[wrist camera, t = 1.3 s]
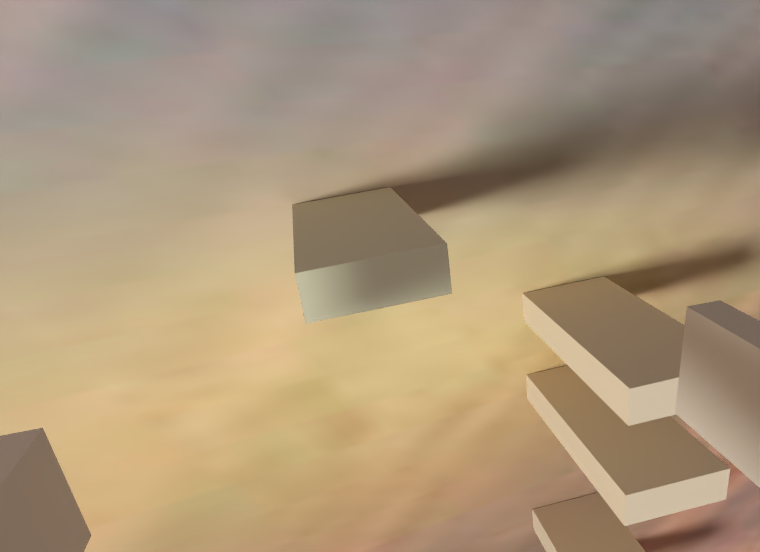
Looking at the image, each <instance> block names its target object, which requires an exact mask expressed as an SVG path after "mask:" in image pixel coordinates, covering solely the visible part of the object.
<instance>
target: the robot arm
mask: <svg viewBox="0 0 760 552" xmlns="http://www.w3.org/2000/svg"><path fill="white" fill-rule="evenodd" d="M675 413H676V414H677V415H678V416H679V417H680V418H681V419H682V420H683V421H685V422H686V423H687V424H688V425H689V426H690V427H691V428H693V429H694V430H695V431H696V432H697V433H698V434H699V435H701V436H702V437H703V438H704V439H705V440H706V441H707V442H708V443H710V444H711V445H712V446H713V447H714V448H715V449H716V450H718V451H719V452H720V453H721V454H722V455H723V456H724V457H726V458H727V459H728V460H729V461H730V462H731V463H732V464H734V465H735V466H736V467H737V468H738V469H739V470H740V471H741V472H743V473H744V474H745V475H746V476H747V477H748V478H749V479H751V480H752V481H753V482H754V483H755V484H756V485H757V486H759V487H760V321H759V320H757V319H755V318H753V317H751V316H749V315H747V314H745V313H743V312H741V311H739V310H737V309H736V308H734V307H732V306H730V305H728V304H726V303H724V302H722V301H720V300H719V301H714V302H709V303H704V304H698V305H693V306H688V307H687V311H686V320H685V329H684V337H683V346H682V355H681V364H680V373H679V381H678V390H677V399H676V408H675ZM90 537H91V534H90V531H89V529H88V527H87V525H86V523H85V520H84V518H83V516H82V514H81V512H80V509H79V507H78V505H77V503H76V500H75V498H74V496H73V494H72V492H71V489H70V487H69V485H68V483H67V481H66V478H65V476H64V474H63V472H62V470H61V467H60V465H59V463H58V461H57V458H56V456H55V454H54V452H53V450H52V447H51V445H50V443H49V441H48V439H47V436H46V434H45V432H44V430H43V428H40V429H34V430H29V431H24V432H19V433H13V434H8V435H3V436H0V552H84V550H85V548H86V546H87V543H88V541H89V539H90Z"/></svg>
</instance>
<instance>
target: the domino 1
mask: <svg viewBox="0 0 760 552" xmlns="http://www.w3.org/2000/svg"><path fill="white" fill-rule="evenodd" d="M292 211H293V238H294V264H295V276H296V281H297V285H298V290H299V294H300V299H301V303H302V308H303V312H304V316H305V321H306V323H311V322H316V321H321V320H326V319H331V318H336V317H340V316H345V315H350V314H355V313H360V312H365V311H370V310H374V309H379V308H384V307H389V306H394V305H399V304H403V303H408V302H413V301H418V300H423V299H428V298H433V297H437V296H442V295H447V294H452V288H451V278H450V269H449V259H448V249H447V243H446V242H445V241H444V240H443V239H442V238H441V237H440V236H439V235H438V234H437V233H436V232H435V231H434V230H433V229H432V228H431V227H430V226H429V225H428V224H427V223H426V222H425V221H424V220H423V219H422V218H421V217H420V216H419V215H418V214H417V213H416V212H415V211H414V210H413V209H412V208H411V207H410V206H409V205H408V204H407V203H406V202H405V201H404V200H403V199H402V198H401V197H400V196H399V195H398V194H397V193H396V192H395V191H394V190H393V189H392V188H391V187H387V188H382V189H376V190H371V191H365V192H360V193H354V194H349V195H343V196H338V197H332V198H327V199H321V200H316V201H310V202H305V203H299V204H294V205H292Z"/></svg>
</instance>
